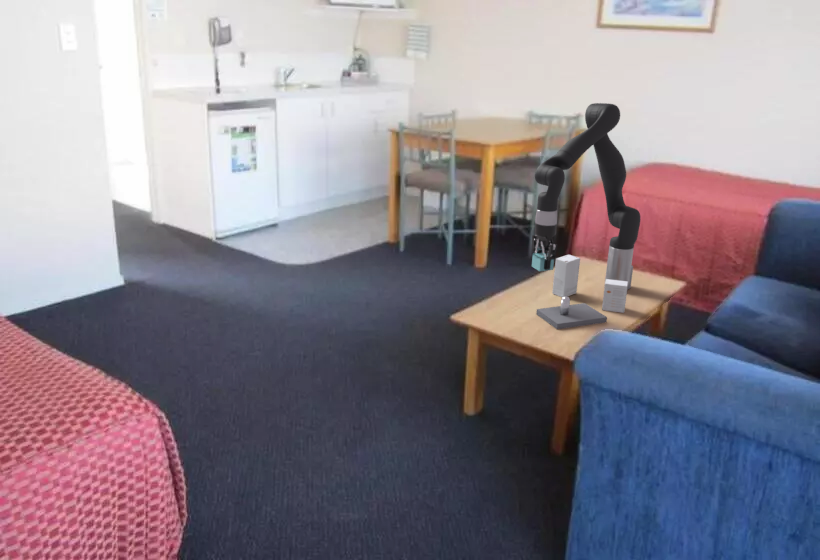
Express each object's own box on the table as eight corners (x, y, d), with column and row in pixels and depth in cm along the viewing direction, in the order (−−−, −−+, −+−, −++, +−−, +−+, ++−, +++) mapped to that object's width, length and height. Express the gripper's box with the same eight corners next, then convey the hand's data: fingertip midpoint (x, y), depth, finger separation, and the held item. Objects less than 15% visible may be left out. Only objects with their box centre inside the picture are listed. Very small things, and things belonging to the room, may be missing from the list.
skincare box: (565, 289, 271) (568, 253, 266) (577, 293, 266) (581, 257, 261) (551, 294, 266) (554, 257, 260) (563, 298, 261) (567, 261, 256)
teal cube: (545, 264, 252) (546, 252, 250) (553, 269, 247) (554, 256, 245) (531, 266, 250) (532, 253, 248) (539, 271, 245) (540, 258, 243)
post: (565, 311, 243) (567, 294, 241) (570, 314, 240) (572, 297, 238) (558, 312, 242) (560, 295, 240) (562, 315, 239) (564, 298, 237)
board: (583, 308, 252) (584, 303, 252) (606, 322, 240) (607, 317, 239) (536, 314, 246) (536, 309, 245) (556, 329, 233) (557, 323, 233)
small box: (624, 307, 253) (628, 281, 250) (624, 313, 248) (627, 286, 245) (602, 304, 256) (605, 278, 252) (601, 310, 251) (604, 283, 247)
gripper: (566, 226, 238) (562, 272, 243) (544, 216, 250) (541, 260, 256) (547, 227, 235) (543, 274, 241) (526, 217, 248) (523, 262, 254)
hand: (542, 266), depth 248 cm, fingers closed on teal cube, 5 cm apart
